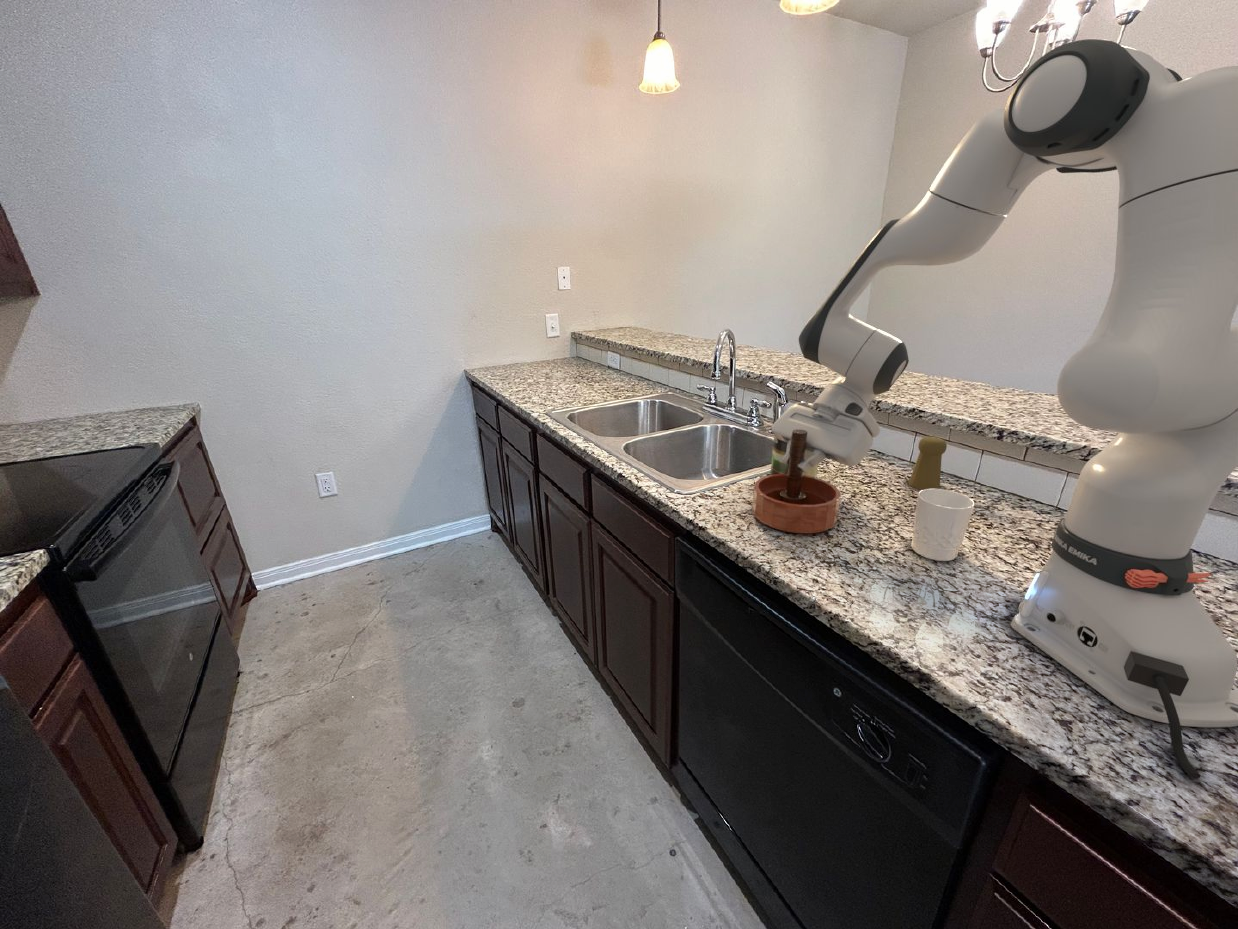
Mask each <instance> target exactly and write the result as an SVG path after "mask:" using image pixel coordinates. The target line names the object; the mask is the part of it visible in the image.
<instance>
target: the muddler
mask: <svg viewBox="0 0 1238 929" xmlns="http://www.w3.org/2000/svg"><path fill="white" fill-rule="evenodd" d="M807 433H808V432H807V431H805V430H800V429H796V430H793V431H792V436H791V445H790V455H789V464H788V474H787V483H786V490H783V491H781V492H780V500H779V501H782V502H786V503H790V504H798V505H805V497H806V495H805V494H804V493H803V492H801V484H802V476H803V471H801V470H799V468H798V467H797V466H798V464H799V463H800V461H801V460H802V459H803V460H804V459H805V450H806V442H807Z"/></svg>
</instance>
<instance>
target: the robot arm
mask: <svg viewBox="0 0 1238 929" xmlns="http://www.w3.org/2000/svg"><path fill="white" fill-rule="evenodd" d="M1051 170H1056V171H1057V172H1058V173H1059V174H1075V173H1077V174H1078V173H1080V174H1081V173H1088V174H1089V173H1090V174H1091V173H1093V174H1094V173H1105V172H1106V173H1107V172H1112V171H1117V173H1118V180H1119V183H1118V184H1119V187H1118V189H1119V191H1118V206H1117V209H1118V210H1117V229H1116V231H1117V232H1116V245H1115V246H1116V249H1115V261H1114V262H1115V263H1114V274H1113V280H1112V285H1111V288H1110V291H1109V294H1108V295H1109V296H1108V298H1107V302H1106V303H1105V306H1104V309H1103V311H1102V314H1101V316H1100V318H1099V321H1098V323H1097V324H1096V327H1095V328H1094V330H1093V333H1092V334H1091V335H1090V337H1089V339H1088V340H1087V341H1086V343H1084V345H1083V346H1082V347H1081V348H1080V349H1079V350H1077V351H1076V352H1075V353H1074V354H1072V355H1071V357H1069V359H1068V360H1067V361H1066V362H1065V363H1064V365H1063V367H1062V369H1061V371H1060V373H1059V375H1058V379H1057V384H1056V391H1057V392H1056V393H1057V398H1058V402H1059V404H1060V406H1061V408H1062V410H1063V411H1064V412H1065V414H1066V415H1067V416H1068V417H1069V418H1070V419H1071V420H1073V421H1074V422H1075V423H1077V424H1078V425H1081V426H1083V427H1085V428H1089V429H1092V430H1099V431H1103V432H1109V433H1117V434H1116V436H1115V437H1114V438H1113V439H1112V440H1111V441H1110V443H1109V444H1107V445H1106V447H1104V449H1102V450H1101V451H1100V452H1098V453H1096V454H1095V455H1093V456H1092V457H1091V458H1090V459H1089V460H1088V461H1087V462H1086V463H1085V464H1084V466H1083V467H1082V469H1081V470H1080V473H1079V476H1078V478H1077V481H1076V485H1075V488H1074V490H1073V492H1072V493H1073V494H1072V496H1071V499H1070V503H1069V505H1068V508H1067V510H1066V511H1067V512H1066V513H1065V517H1063V518H1062V519H1060V520H1059V523H1058V525H1057V527H1056V529H1054V532H1053V538H1052V541H1051V549H1052V551H1051V553H1050V555H1049V558H1048V560H1047V561H1046V563H1045V564H1044V566H1043V567H1042V569H1041V570H1040V573H1039V572H1038V573H1036V574H1035V576H1034V578H1033V580H1032V582H1031V583H1030V586H1028V589H1027V591H1026V593H1025V596H1024V598H1023V599H1022V600H1021V601H1020V603H1019V605H1018V613H1017V614H1016V615H1014V616H1013V618H1012V619H1011V622H1010V627H1011V628H1012V629H1013V630H1014V631H1015V632H1017V633H1018V634H1019V635H1021V636H1022V637H1023V638H1024V639H1026V640H1027V641H1029V642H1030V643H1031V644H1033V645H1034V646H1036V647H1037V648H1039V649H1040V650H1041V651H1042V652H1044V653H1045V654H1047V655H1048V656H1049V657H1051V658H1052V659H1053V660H1055V661H1056V662H1057V663H1059V664H1060V665H1061V666H1063V667H1064V668H1065V669H1067V670H1068V671H1069V672H1070V673H1072V674H1074V675H1075V676H1076V677H1077V678H1079V679H1080V680H1082V682H1084V683H1086V684H1087V685H1088V686H1090V687H1091V688H1092V689H1094V690H1095V691H1096V692H1098V693H1099V694H1100V695H1102V696H1103V697H1105V698H1106V699H1107V700H1108V701H1110V702H1111V703H1113V705H1115V706H1117V707H1118V708H1120V709H1121V710H1123V711H1125V712H1126V713H1128V714H1132V715H1134V716H1137V717H1141V718H1143V719H1147V720H1152V721H1155V722H1160V723H1162V724H1163V723H1164V724H1168V725H1169V735H1170V743H1171V748H1172V751H1173V754H1174V757H1175V759H1176V761H1177V763H1178V764H1179V766H1180V767H1181V769H1183V771H1184V772H1185V773H1186V775H1188V777H1189V778H1191V779H1193V780H1197V779H1200V778H1201V774H1200V772H1199V771H1198V770H1197V769H1196V768H1195V767H1194V766H1193V765H1192V764H1191V762H1190V760H1189V759H1188V757H1187V754H1186V752H1185V748H1184V742H1183V733H1182V727H1191V728H1232V727H1233V728H1234V727H1238V687H1237V686H1236V685H1235V684H1234V683H1235V679H1236V675H1237V671H1238V655H1237V652H1236V650H1235V649H1234V647H1233V646H1232V645H1231V644H1230V642H1229V641H1228V640H1227V638H1226V637H1225V635H1224V631H1223V630H1222V628H1221V627H1220V626H1219V625H1217V624H1216V622H1215V621H1214V620H1213V618H1211V616H1210V614H1209V613H1208V611H1206V609H1205V607H1204V605H1203V604H1202V603H1201V601H1200V599H1199V598H1198V597H1197V596H1196V595H1195V593H1194V591H1193V589H1194V587H1195V583H1208V581H1209V580H1206V579H1205V578H1209V577H1212V574H1211V573H1209V572H1194V561H1193V553H1192V551H1191V547H1192V545H1193V543H1194V541H1195V539H1196V536H1197V535H1198V533H1199V530H1200V529H1201V526H1202V523H1203V522H1204V519H1205V518H1206V516H1207V513H1208V512H1209V509H1210V507H1211V505H1212V503H1213V501H1214V499H1215V497H1216V495H1217V494H1218V492H1219V491H1220V489H1221V488H1222V487H1223V485H1224V484H1225V483H1226V481H1227V479H1228V478H1229V477H1230V476H1231V475H1232V473H1233V472H1234V471H1235V469H1237V467H1238V324H1235V325H1234V324H1232V322H1233V319H1234V316H1235V312H1236V311H1237V310H1236V309H1237V308H1238V65H1231V66H1224V67H1219V68H1214V69H1209V70H1206V71H1203V72H1199V73H1197V74H1194V75H1192V76H1190V77H1188V78H1185V79H1183V78H1182V76H1181V75H1180V74H1179V73H1178V72H1176V71H1175V70H1173V69H1171V68H1168V67H1166V66H1165V65H1163V64H1162V63H1160V62H1159V61H1157V60H1156V59H1155V57H1153V56H1152V55H1150V54H1148V53H1146V52H1144V51H1142V50H1139V49H1137V48H1136V49H1135V48H1132V47H1128V46H1124V45H1121V44H1119V43H1118V42H1115V41H1114V40H1113V41H1112V40H1109V39H1106V38H1105V39H1104V38H1085V39H1080V40H1079V39H1078V40H1074V41H1069V42H1067V43H1063V44H1061V45H1059V46H1057V47H1055V48H1053V49H1051V50H1049V51H1048V52H1046V53H1045V54H1043V55H1041V57H1039V58H1038V59H1037V60H1036V61H1035V62H1034V63H1033V64H1032V65H1031V66H1030V67H1029V68H1028V69H1026V71H1025V72H1024V73H1023V74H1022V76H1021V77H1020V78H1019V79H1018V81H1017V82H1016V84H1015V85H1014V87H1013V88H1012V90H1011V92H1010V94H1009V96H1008V98H1007V101H1006V104H1005V108H998V109H995V110H992V111H989V112H988V113H986V114H984V115H983V116H981V117H979V118H978V119H977V120H976V121H975V122H974V123H973V125H972V126H971V127H970V129H968V131H967V132H966V133H965V135H964V136H963V137H962V139H961V140H960V141H959V143H958V144H957V145H956V147H955V148H954V150H953V151H952V152H951V154H950V155H949V157H948V158H947V159H946V161H945V162H944V164H943V165H942V167H941V169H940V170H939V172H938V173H937V174H936V177H935V178H934V180H933V181H932V183H931V185H930V187H929V189H928V190H927V192H926V194H925V195H924V197H923V198H922V199H921V201H920V202H918V204H917V205H916V206H915V207H914V208H913V209H912V210H911V211H910V212H909V213H907V214H906V215H905V216H903V217H902V218H895V219H891V220H890V221H888V222H887V223H886V224H885V225H883V227H881V228H880V229H879V230H878V231H877V233H875V234H874V236H873V237H872V238H871V239H870V241H869V242H868V243H867V245H865V247H864V248H863V249H862V251H861V252H860V253H859V255H858V256H857V257H856V258H855V260H854V262H853V263H852V264H851V265H850V266H849V268H848V269H847V271H846V272H845V273H844V275H843V276H842V277H841V278H840V280H839V281H838V283H837V284H836V286H835V287H834V288H833V290H832V291H831V293H830V294H829V295H828V297H827V298H826V299H825V300H824V302H823V303H822V304H821V306H820V307H819V308H818V309H817V310H816V311H815V313H814V314H813V315H812V316H811V317H810V318H808V320H807V322H806V323H805V324H804V325H803V328H802V329H801V332H800V334H799V336H798V345H799V348H800V352H801V354H802V356H803V358H804V359H806V360H808V361H811V362H813V363H815V364H817V365H820V366H824V367H825V368H827V369H829V370H831V371H833V372H835V373H837V375H836V376H835V378H834V379H833V380H832V381H831V382H829V383H828V384H827V385H826V386H825V387H824V388H823V390H822V391H821V393H820V394H819V395H818V397H817V398H816V399H815V400H814V402H813V403H809V402H806V401H800V402H797V403H793V404H792V405H791V406H790V407H788V408H787V409H785V411H784V412H782V414H781V415H780V416H779V417H778V419H777V418H776V419H777V420H776V419H775V420H776V422H775V421H774V423H773V424H772V425H771V433H772V434H773V436H774V435H775V436H776V437H777V438H778V439H779V440H782V441H784V442H787V443H788V444H787V450H786V454H785V455H784V457H783V458H782V461H783V463H784V464H787V465H788V464H789V455H790V445H791V436H792V431H793V430H796V429H800V430H805V431H807V432H808V433H807V442H806V450H808V451H810V452H813V456H811V457H810V458H808V459H807V460H803V459H802V460H801V461H800V463H799V464H798V466H797V467H798V468H799V470H801V471H803V472H805V473H807V472H808V471H809V470H810V469H811V467H813V466H815V465H817V464H818V465H820V463H823V462H824V461H825V459H828V460H832V461H834V462H837V463H839V464H842V465H843V466H847V467H849V468H852V467H854V466H857V465H859V464H860V463H861V462H862V460H863V459H864V458H865V457H866V455H867V453H868V452H869V451H870V449H871V447H872V446H873V444H874V438H877V437H878V436H879V435H880V433H881V431H882V430H881V428H880V426H879V424H878V422H877V420H876V419H875V418H874V416H873V414H872V413H871V412H870V410H869V408H870V406H871V403H872V402H873V400H875V398H877V397H879V396H880V395H882V394H884V393H887V392H889V391H890V390H891V388H892V387H893V385H894V384H895V382H897V380H898V379H899V378H900V376H901V375H902V374H903V373H904V371H905V370H906V368H908V364H909V359H910V358H909V354H908V348H907V346H906V343H905V341H902V340H901V339H899V338H898V337H897V336H894V335H892V334H890V333H888V332H886V331H884V330H882V329H879V328H876V327H875V326H873V325H871V324H869V323H866V322H864V321H862V320H860V319H858V318H856V317H854V316H853V315H852V314H851V311H850V309H851V308H852V306H853V305H854V304H855V303H856V301H857V300H858V299H859V297H860V296H861V295H862V294H863V292H864V291H865V290H866V289H867V287H868V286H869V285H870V283H871V282H872V281H873V280H874V278H875V277H876V276H877V275H878V274H879V273H880V272H881V271H882V270H884V269H886V268H889V267H894V266H927V267H930V266H943V265H949V264H954V263H958V262H961V261H963V260H966V259H968V258H970V257H972V256H973V255H974V254H977V253H978V252H979V251H980V250H981V249H982V248H984V246H985V245H986V244H987V243H988V242H989V241H990V239H991V238H992V237H993V236H994V234H995V233H996V231H998V229H999V228H1000V227H1001V225H1002V224H1003V223H1004V221H1005V220H1006V218H1007V216H1008V215H1009V213H1010V212H1011V211H1012V209H1013V207H1014V206H1015V205H1016V203H1017V201H1018V200H1019V199H1020V197H1021V195H1022V194H1023V193H1024V192H1025V190H1026V189H1027V188H1028V186H1029V185H1030V184H1031V183H1032V182H1033V181H1035V179H1037V178H1038V177H1039V176H1041V175H1043V174H1045V173H1046V172H1049V171H1051ZM1181 726H1182V727H1181Z"/></svg>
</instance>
